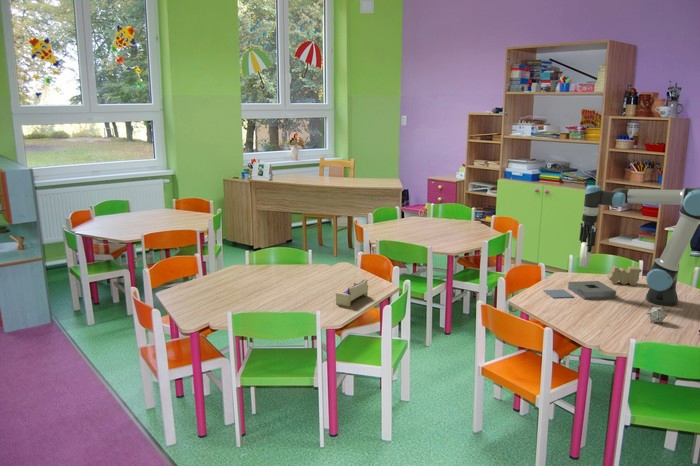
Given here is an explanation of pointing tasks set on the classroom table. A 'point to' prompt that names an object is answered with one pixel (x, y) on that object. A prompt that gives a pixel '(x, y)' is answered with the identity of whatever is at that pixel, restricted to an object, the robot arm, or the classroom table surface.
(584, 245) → the end plug
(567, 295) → the mat
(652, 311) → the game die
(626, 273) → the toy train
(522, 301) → the classroom table surface
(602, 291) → the housing
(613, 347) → the classroom table surface
